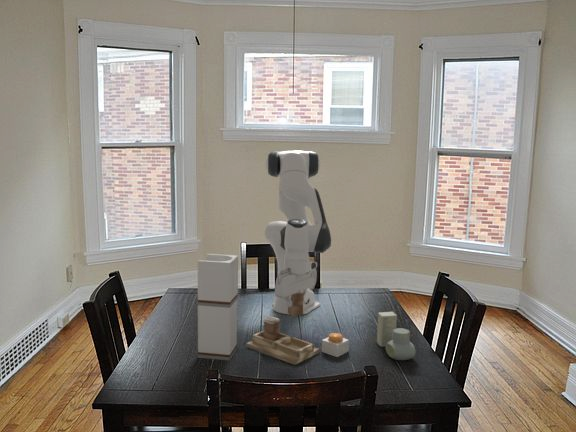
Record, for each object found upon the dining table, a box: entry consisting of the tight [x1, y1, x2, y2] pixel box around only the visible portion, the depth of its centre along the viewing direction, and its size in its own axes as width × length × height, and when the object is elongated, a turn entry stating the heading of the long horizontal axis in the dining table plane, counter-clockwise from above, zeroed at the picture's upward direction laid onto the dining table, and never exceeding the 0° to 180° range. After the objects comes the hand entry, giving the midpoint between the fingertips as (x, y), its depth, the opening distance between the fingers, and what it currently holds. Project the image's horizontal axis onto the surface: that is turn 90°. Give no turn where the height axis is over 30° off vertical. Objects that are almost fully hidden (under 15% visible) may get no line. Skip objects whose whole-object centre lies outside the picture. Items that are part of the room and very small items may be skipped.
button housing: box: [321, 336, 350, 358], centre depth 209 cm, size 7×7×4 cm
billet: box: [288, 290, 304, 317], centre depth 203 cm, size 4×4×9 cm
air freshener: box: [385, 327, 417, 361], centre depth 205 cm, size 11×8×10 cm
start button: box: [328, 332, 344, 343], centre depth 208 cm, size 5×5×3 cm
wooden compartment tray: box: [246, 316, 320, 366], centre depth 209 cm, size 14×23×10 cm, turn 50°
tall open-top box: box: [197, 253, 239, 362], centre depth 203 cm, size 11×11×35 cm
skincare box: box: [376, 311, 398, 347], centre depth 216 cm, size 6×4×12 cm
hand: (295, 303), depth 203 cm, fingers closed on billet, 5 cm apart
